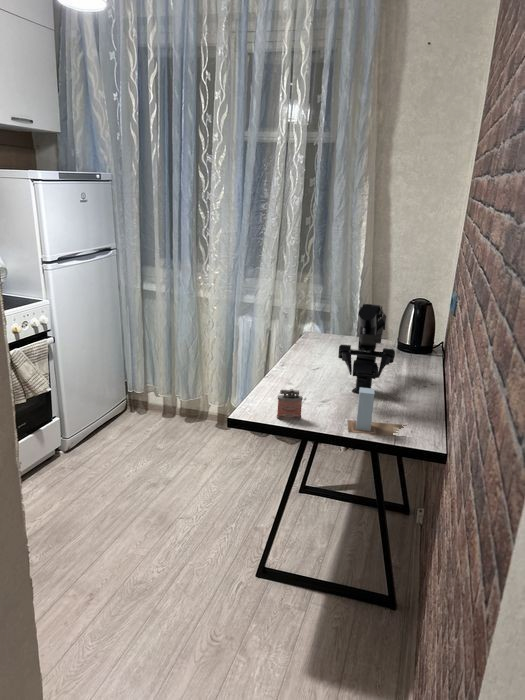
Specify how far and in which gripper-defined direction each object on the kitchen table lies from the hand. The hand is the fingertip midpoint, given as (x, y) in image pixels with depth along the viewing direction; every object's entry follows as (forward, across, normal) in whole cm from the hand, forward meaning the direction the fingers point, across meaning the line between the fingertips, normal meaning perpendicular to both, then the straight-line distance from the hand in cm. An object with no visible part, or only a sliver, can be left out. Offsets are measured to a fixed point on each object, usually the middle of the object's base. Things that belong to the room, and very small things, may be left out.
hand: (364, 376), depth 181 cm
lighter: (+18, -23, 0) cm, 29 cm away
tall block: (+18, +1, -1) cm, 19 cm away
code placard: (+18, +6, -1) cm, 19 cm away
